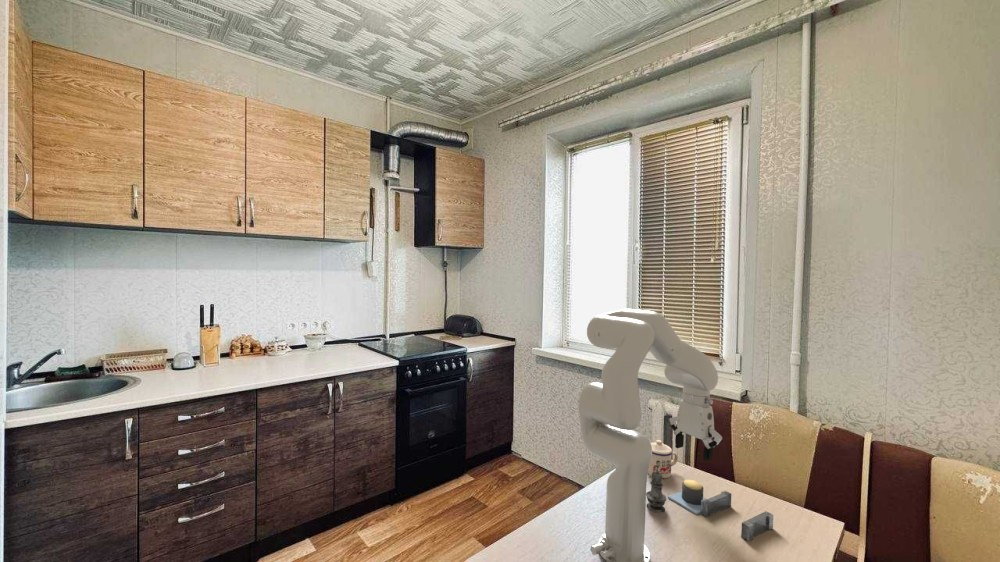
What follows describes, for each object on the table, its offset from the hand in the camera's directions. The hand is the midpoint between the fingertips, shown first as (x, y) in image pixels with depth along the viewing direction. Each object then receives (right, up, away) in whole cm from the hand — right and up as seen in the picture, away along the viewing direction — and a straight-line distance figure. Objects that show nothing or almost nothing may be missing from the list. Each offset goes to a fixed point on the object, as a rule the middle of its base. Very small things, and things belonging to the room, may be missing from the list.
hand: (692, 453), depth 124 cm
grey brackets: (+8, -16, -8) cm, 20 cm away
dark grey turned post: (-13, -16, -3) cm, 20 cm away
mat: (0, -16, +1) cm, 16 cm away
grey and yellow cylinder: (0, -15, +1) cm, 15 cm away
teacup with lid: (-2, -15, +19) cm, 25 cm away
